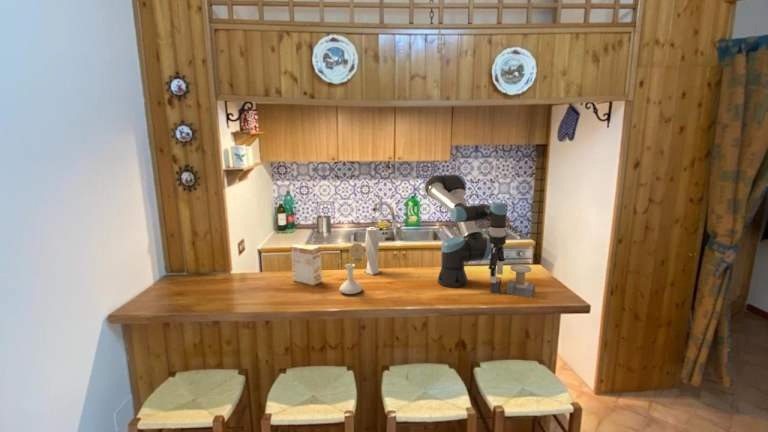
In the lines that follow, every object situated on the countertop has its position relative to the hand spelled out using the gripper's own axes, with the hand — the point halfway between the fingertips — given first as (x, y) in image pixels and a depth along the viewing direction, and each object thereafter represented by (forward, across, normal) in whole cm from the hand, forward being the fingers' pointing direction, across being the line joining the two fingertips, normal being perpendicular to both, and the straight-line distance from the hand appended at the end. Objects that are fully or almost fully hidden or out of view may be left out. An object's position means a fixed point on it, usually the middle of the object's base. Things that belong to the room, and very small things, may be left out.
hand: (496, 278), depth 199 cm
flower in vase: (+7, -31, +63) cm, 71 cm away
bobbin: (+7, +14, -9) cm, 18 cm away
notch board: (+7, +4, -11) cm, 14 cm away
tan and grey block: (+7, 0, 0) cm, 7 cm away
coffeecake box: (+7, -29, +93) cm, 98 cm away
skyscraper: (+7, -2, +68) cm, 69 cm away
